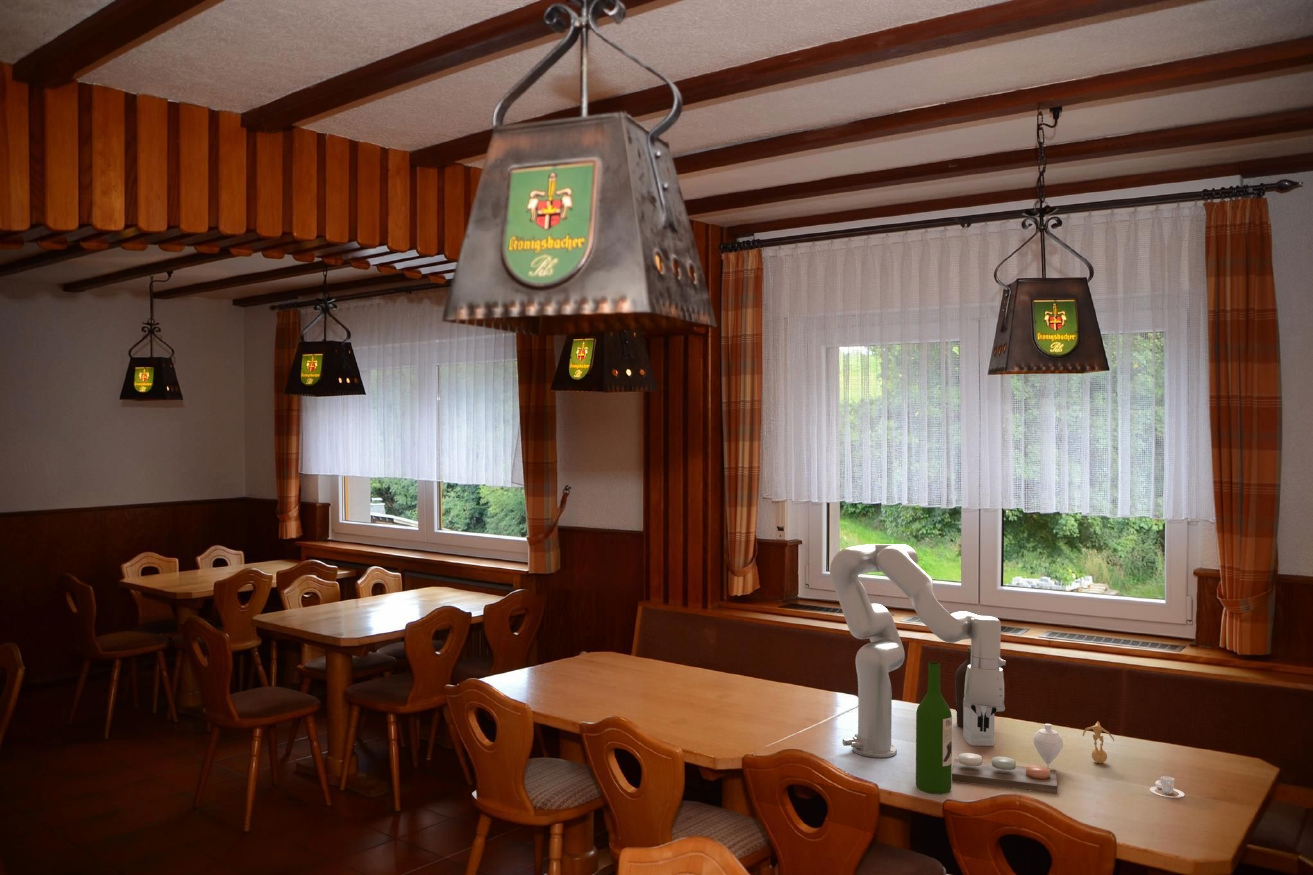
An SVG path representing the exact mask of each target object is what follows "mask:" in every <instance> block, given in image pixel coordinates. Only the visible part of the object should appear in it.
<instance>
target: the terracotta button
mask: <svg viewBox="0 0 1313 875" xmlns="http://www.w3.org/2000/svg"><path fill="white" fill-rule="evenodd" d="M1025 767H1026V775H1028V776H1030V777H1033V778H1039V779H1046V778H1049V777H1050V770H1051V769H1050V767H1049V768H1048V767H1047V766H1044V765H1038V764H1029V765H1026V766H1025Z"/></svg>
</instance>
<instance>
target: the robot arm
mask: <svg viewBox="0 0 1313 875" xmlns="http://www.w3.org/2000/svg"><path fill="white" fill-rule="evenodd" d="M918 562H919V557H918V554H917V552H916V551H915V549H914V548H913V547H911V546H909V545H908V544H904V543H903V544H902V543H898V544H895V543H893V544H889V543H887V544H886V543H883V544H881V543H869V544H867V543H866V544H860V545H853V546H847V547H845V548H843V549H840V551H838V552H837V553H836V554H835V555H834V557H833V558H832V560H831V563H830V565H829V566H830V567H829V577H830V580H831V584H832V586H833V588H834V591H835V593H836V595H837V599H838V601H839V605H840V608H841V611H842V614H843V616H844V620H845V622H846V625H847V628H848V631H849V632H850V634H851V636H853V637H854V638H856V639H858V640H866V639H869V641H870V642H868V643H866V644H864V645H863V646H862V647H860V648H859V649H858V650H857V652H856V655H855V669H856V674H857V685H858V686H857V689H858V690H857V697H858V698H857V699H858V700H857V702H858V703H857V707H858V708H857V710H858V711H857V712H858V713H857V715H858V717H857V722H858V723H857V733H855V734H854V736H853V737H852V738H843V739H842V745H843V746H844V747H845V746H846V747H847V746H850V747H851V748H852V751H853V752H854V753H856V754H858V755H861V756H864V757H869V758H877V759H878V758H882V759H883V758H891V757H893V756H895V755H897V754H898V753H897V752H898V749H897V747H896V746H895V745H893V744H892V716H893V715H892V714H893V713H892V707H893V705H892V703H893V702H892V701H893V699H892V695H893V694H892V684H891V679H890V676H889V673H890V672H892V671H895V670H898V669H899V668H900V667H901V666H902V665H903V663H904V661H905V658H906V657H905V649H904V646H903V643H902V640H901V636H900V634H899V632H898V629H897V625H896V623H895V620H894V619H893V616H892V613H891V612H890V611H889V610H888V608H886V607H885V606H884V605H882V604H880V603H877V602H876V603H875V602H874V603H871V601H870V599H869V595H868V593H867V589H866V588H865V586H864V585H863V583H862V581H860V578H859V576H860V575H865V574H869V573H882V574H884V576H886V577H887V579H888V580H889V581H891V582H892V584H894V585H895V586H896V587H897V588H898V589H899V590H900V591H901V592H902V593H903V594H904V595H905V596H906V597H907V598H908V599H909V600H910V602H911V605H912V607H913V609H914V611H915V612H916V615H917V616H918V618H919V620H920V621H921V622H922V624H924V626H925V627H926V628H927V629H928V630H930V632H932V634H933V635H935V636H936V637H937V638H939V639H940V640H942V641H944V642H945V643H948V644H953V643H957V642H961V641H963V640H968V639H970V647H971V664H970V665H968V667H967V671H966V677H965V690H964V697H965V699H964V702H963V706H964V707H967V708H970V709H972V710H973V711H974V712H975V713H976V714H977V716H978V723H977V727H980V732H982V731H984V732H986V728H988V729H989V717H990V716H991V715H993V714H994V715H995V713H997V712H999V713H1000V712H1004V711H1006V707H1005V702H1004V701H1005V677H1004V676H1005V675H1004V671H1003V670H1004V669H1003V668H1002V666H1006V663H1007V661H1006V660H1004V659H1002V658H1001V641H1002V640H1001V639H1002V638H1001V637H1002V636H1001V635H1002V633H1001V632H1002V623H1001V620H1000V619H998V617H994V616H990V615H978V614H975V613H972V612H969V611H965V610H964V611H963V610H960V611H954V612H952V613H950V612H949V611H948V610H947V609H946V608H944V606H943V605H942V604H941V603H940V602H939V600H937V598H936V596H935V594H934V591H933V588H934V587H933V586H934V580H933V578H932V577H931V576H930V575H928V574H927V572H925V571H924V570H923V569H922V568H921V567H920V566H919V565H918V564H919V563H918ZM981 705H982V706H987V709H986V712H985V715H984V727H983V715H982V712H981Z"/></svg>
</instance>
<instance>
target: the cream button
mask: <svg viewBox="0 0 1313 875" xmlns="http://www.w3.org/2000/svg"><path fill="white" fill-rule="evenodd" d="M958 759H959V763H961V764H963V765H967V766H980V765H982V762H983V757H982V755H979V754H977V753H972V752H963V753H959V754H958Z"/></svg>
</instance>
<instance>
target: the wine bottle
mask: <svg viewBox="0 0 1313 875" xmlns="http://www.w3.org/2000/svg"><path fill="white" fill-rule="evenodd" d="M927 667H928V670H927V671H928V673H927V676H928V678H927V692H926V694H925V696H924V697H923V699H922V700H921V701H920V703H919V704H918V706H917V709H916V713H915V716H916V717H915V785H916V789H917V790H918V791H921V792H923V793H926V794H933V795H944V794H949V793H950V792H951V791H952V769H953V765H952V762H953V760H952V759H953V758H952V753H953V752H952V751H953V750H952V747H953V745H952V743H953V742H952V741H953V715H952V711H951V708H950V707H949V704H948V703H947V701H946V700H945V698H944V696H943V695H942V692H941V663H939V662H937V661H931V662H928V666H927Z"/></svg>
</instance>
